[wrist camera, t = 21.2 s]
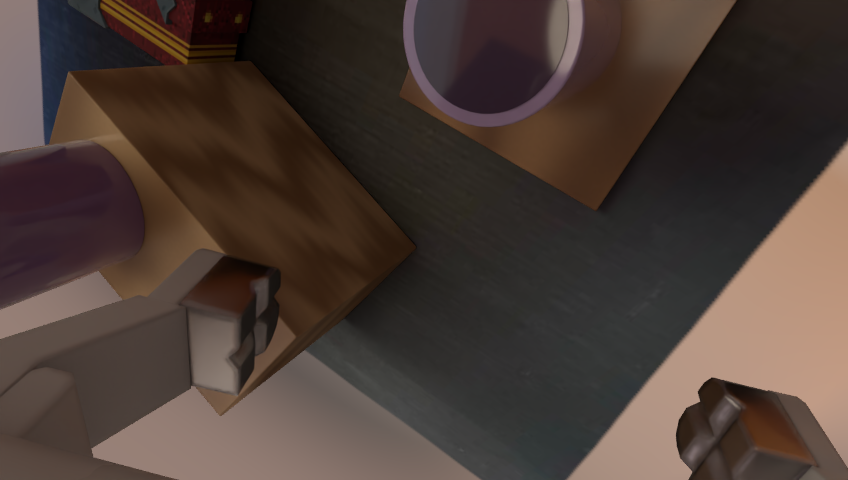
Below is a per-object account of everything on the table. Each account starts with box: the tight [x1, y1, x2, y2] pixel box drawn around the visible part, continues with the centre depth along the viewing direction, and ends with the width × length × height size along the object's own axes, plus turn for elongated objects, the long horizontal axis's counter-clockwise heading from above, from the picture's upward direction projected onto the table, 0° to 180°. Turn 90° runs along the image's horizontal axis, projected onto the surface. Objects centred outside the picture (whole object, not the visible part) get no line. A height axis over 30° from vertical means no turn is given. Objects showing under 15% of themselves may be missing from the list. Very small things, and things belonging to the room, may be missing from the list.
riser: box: [49, 61, 416, 416], centre depth 32 cm, size 17×10×12 cm, turn 48°
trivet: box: [399, 0, 737, 211], centre depth 25 cm, size 13×13×1 cm
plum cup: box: [0, 139, 145, 309], centre depth 23 cm, size 7×7×9 cm
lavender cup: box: [403, 0, 622, 127], centre depth 21 cm, size 7×7×9 cm
